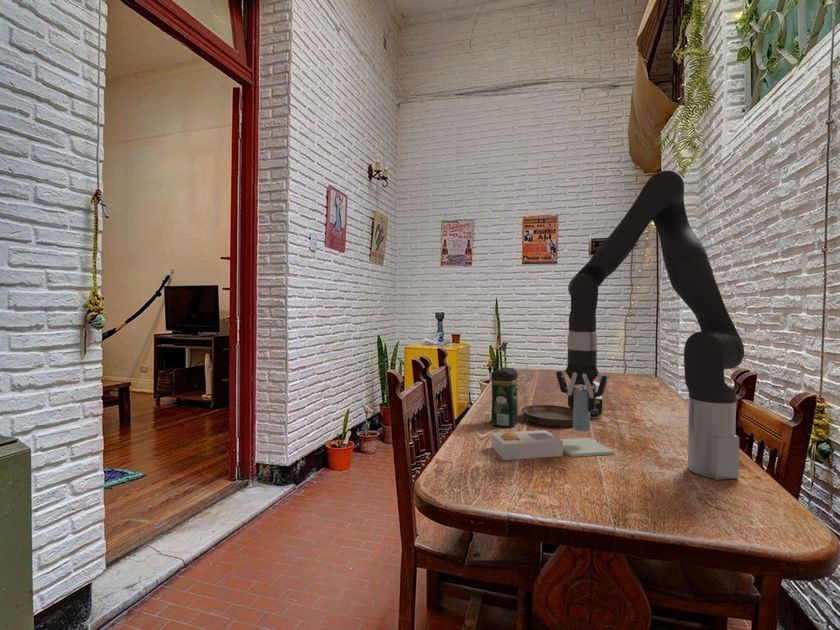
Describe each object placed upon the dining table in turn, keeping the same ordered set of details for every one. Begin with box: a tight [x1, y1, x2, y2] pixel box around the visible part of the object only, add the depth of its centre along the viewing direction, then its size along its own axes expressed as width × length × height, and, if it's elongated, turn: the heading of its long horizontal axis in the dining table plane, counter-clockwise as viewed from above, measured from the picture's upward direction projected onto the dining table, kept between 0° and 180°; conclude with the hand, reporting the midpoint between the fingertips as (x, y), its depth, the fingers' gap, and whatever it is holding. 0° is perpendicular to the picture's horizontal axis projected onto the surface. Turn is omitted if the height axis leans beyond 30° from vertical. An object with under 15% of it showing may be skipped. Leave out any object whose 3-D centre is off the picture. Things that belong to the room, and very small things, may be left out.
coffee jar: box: [490, 366, 519, 428], centre depth 145 cm, size 10×8×19 cm
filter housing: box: [490, 429, 564, 461], centre depth 118 cm, size 16×10×4 cm, turn 100°
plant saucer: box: [520, 404, 573, 427], centre depth 150 cm, size 21×21×3 cm
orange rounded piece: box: [503, 433, 517, 441], centre depth 117 cm, size 4×4×3 cm
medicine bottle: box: [590, 381, 604, 419], centre depth 155 cm, size 7×7×12 cm
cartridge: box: [572, 384, 591, 432], centre depth 120 cm, size 4×4×12 cm
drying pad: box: [559, 437, 615, 458], centre depth 120 cm, size 12×12×1 cm
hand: (581, 409), depth 120 cm, fingers closed on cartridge, 4 cm apart
